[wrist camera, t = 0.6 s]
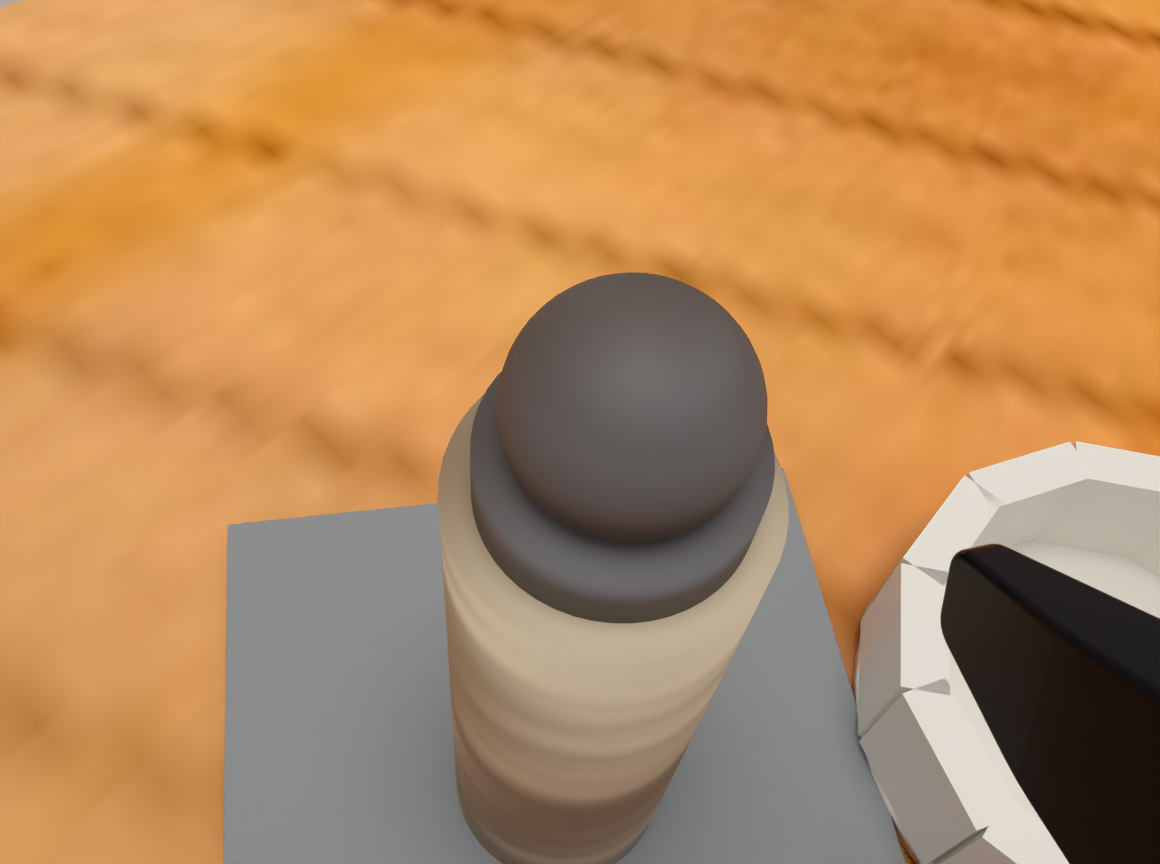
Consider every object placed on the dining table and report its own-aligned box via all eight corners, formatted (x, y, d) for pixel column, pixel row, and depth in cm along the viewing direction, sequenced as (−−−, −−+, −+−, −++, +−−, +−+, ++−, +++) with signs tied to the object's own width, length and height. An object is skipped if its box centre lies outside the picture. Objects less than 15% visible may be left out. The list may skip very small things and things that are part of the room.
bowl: (1435, 883, 24) (1570, 843, 21) (1017, 1082, 21) (1105, 1069, 18) (1135, 476, 30) (1208, 399, 27) (773, 592, 27) (809, 521, 24)
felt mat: (968, 1086, 21) (974, 1085, 21) (222, 1233, 19) (218, 1234, 19) (780, 473, 29) (783, 468, 28) (230, 530, 27) (227, 524, 26)
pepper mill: (691, 838, 23) (947, 442, 10) (492, 912, 22) (509, 572, 9) (615, 651, 25) (752, 137, 13) (431, 711, 24) (377, 213, 12)
